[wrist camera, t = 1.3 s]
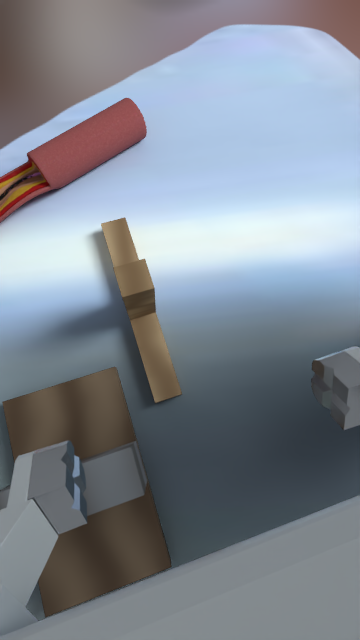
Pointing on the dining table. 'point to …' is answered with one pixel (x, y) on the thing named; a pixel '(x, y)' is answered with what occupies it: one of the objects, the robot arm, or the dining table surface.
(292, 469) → the dining table surface
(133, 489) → the stand
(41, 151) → the artery
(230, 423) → the dining table surface
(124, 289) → the oak bar
